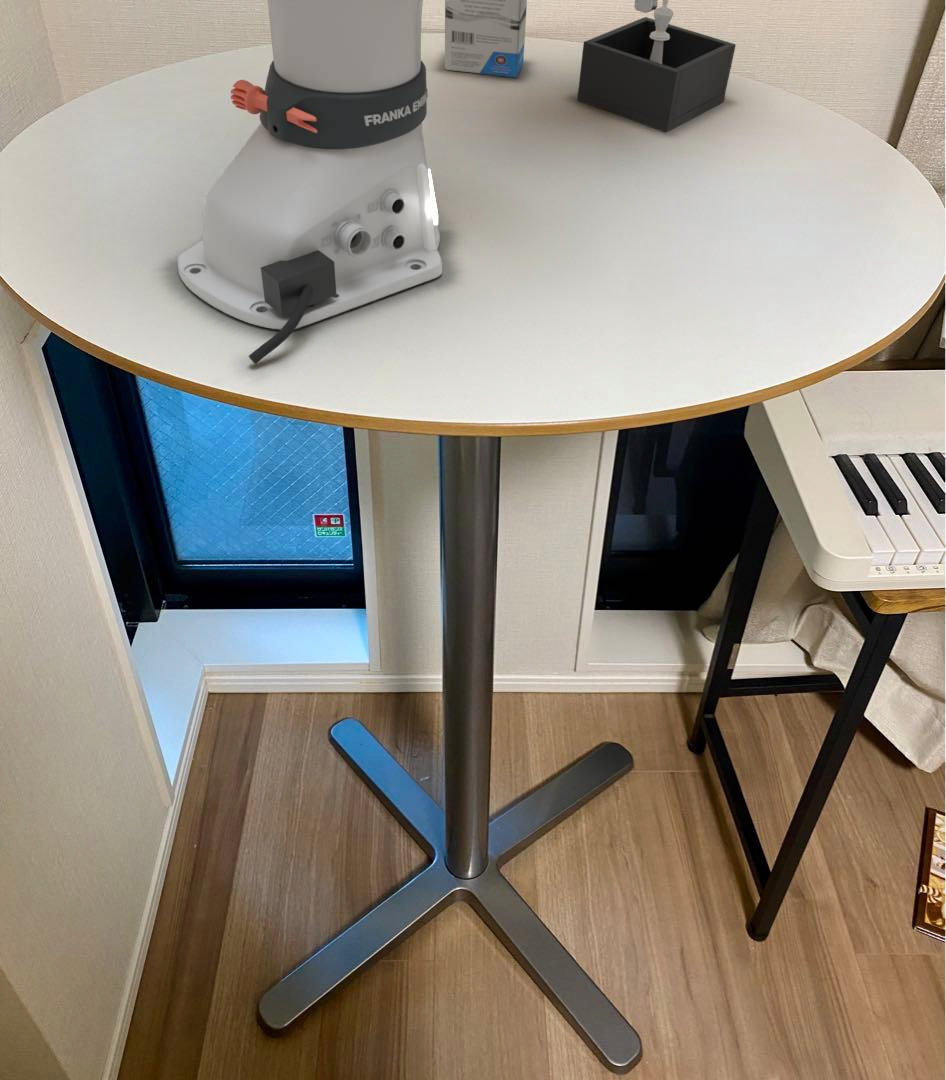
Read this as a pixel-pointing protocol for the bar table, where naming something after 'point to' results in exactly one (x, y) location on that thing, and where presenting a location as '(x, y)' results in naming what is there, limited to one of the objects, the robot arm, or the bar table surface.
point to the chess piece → (660, 31)
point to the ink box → (485, 36)
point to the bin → (654, 74)
